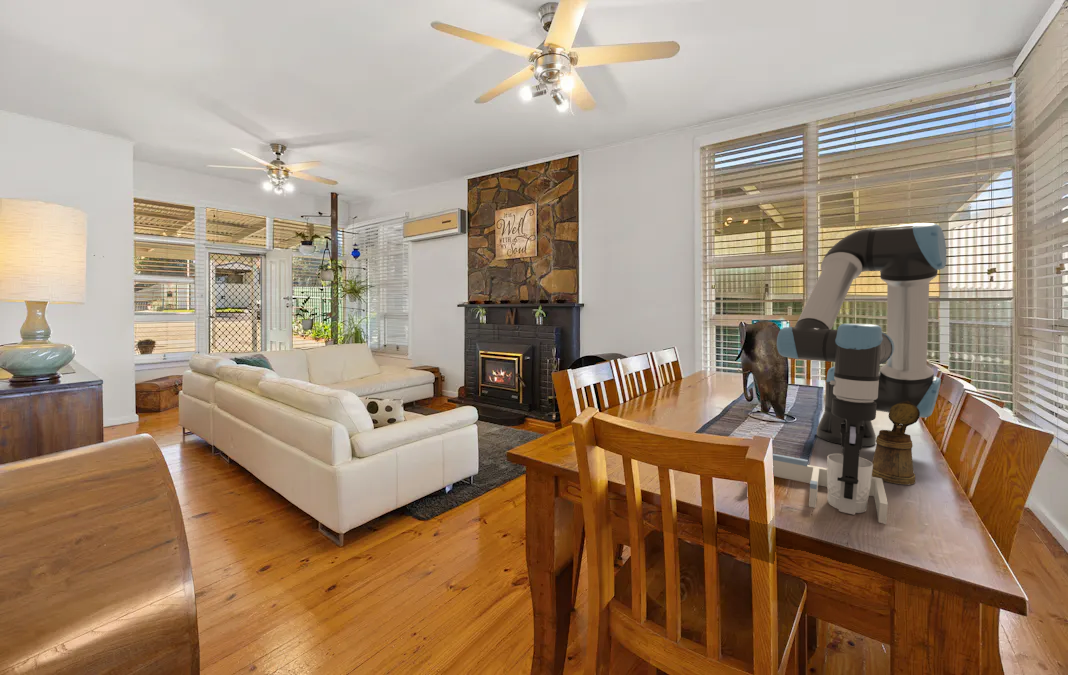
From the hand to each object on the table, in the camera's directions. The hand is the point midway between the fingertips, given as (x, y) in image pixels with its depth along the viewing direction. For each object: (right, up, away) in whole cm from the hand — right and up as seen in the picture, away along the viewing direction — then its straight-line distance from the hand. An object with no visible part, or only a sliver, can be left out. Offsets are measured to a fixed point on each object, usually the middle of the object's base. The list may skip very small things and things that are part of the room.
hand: (846, 504), depth 95 cm
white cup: (0, 0, 0) cm, 0 cm away
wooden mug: (+24, +1, +17) cm, 29 cm away
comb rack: (-3, 0, +6) cm, 7 cm away
